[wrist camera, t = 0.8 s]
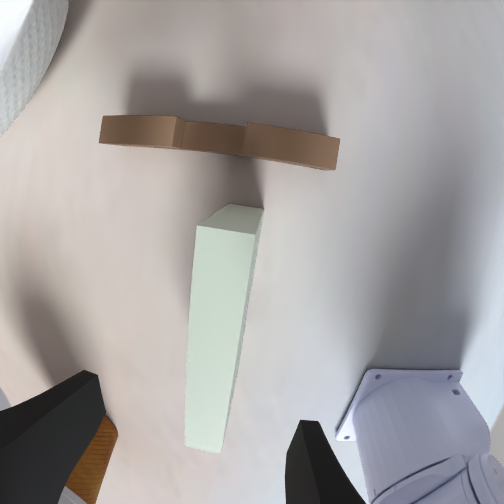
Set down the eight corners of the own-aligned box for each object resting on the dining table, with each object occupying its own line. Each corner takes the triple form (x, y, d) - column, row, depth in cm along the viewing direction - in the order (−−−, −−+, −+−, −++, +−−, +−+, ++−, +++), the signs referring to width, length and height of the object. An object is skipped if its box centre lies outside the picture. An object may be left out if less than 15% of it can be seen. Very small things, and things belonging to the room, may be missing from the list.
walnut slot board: (328, 144, 15) (340, 138, 12) (324, 170, 16) (335, 169, 13) (128, 122, 16) (103, 115, 13) (124, 145, 16) (98, 143, 13)
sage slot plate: (228, 203, 17) (196, 225, 10) (263, 208, 17) (255, 235, 10) (209, 373, 20) (184, 445, 13) (236, 378, 20) (220, 453, 13)
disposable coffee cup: (72, 373, 22) (1, 458, 10) (149, 438, 23) (106, 534, 12) (46, 404, 24) (-7, 469, 12) (109, 456, 25) (71, 529, 14)
